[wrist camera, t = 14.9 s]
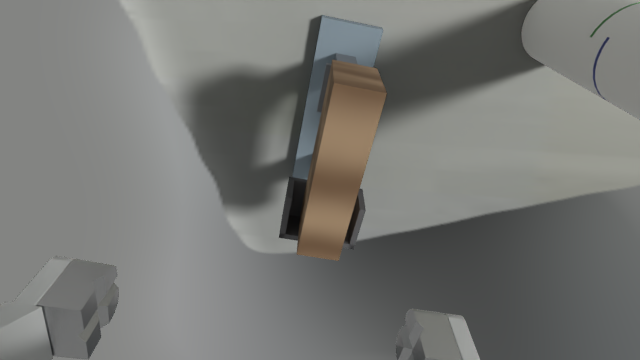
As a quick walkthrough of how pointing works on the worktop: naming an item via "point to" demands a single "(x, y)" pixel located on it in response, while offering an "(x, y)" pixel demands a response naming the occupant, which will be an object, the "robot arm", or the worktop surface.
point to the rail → (339, 157)
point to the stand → (336, 44)
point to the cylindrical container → (590, 45)
